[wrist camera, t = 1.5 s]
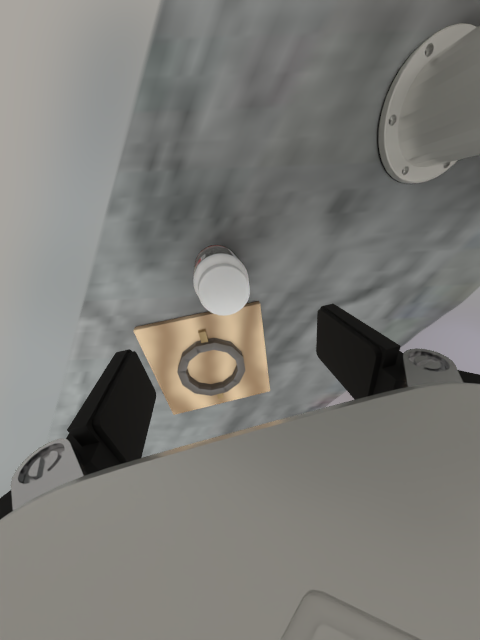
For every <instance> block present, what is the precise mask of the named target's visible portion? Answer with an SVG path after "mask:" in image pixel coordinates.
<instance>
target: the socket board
mask: <svg viewBox="0 0 480 640" xmlns="http://www.w3.org/2000/svg"><path fill="white" fill-rule="evenodd" d="M133 331H134V333H135V335H136V337H137V339H138V341H139V343H140V345H141V348H142V350H143V352H144V354H145V356H146V358H147V360H148V362H149V364H150V366H151V368H152V371H153V373H154V375H155V377H156V379H157V381H158V383H159V385H160V387H161V389H162V391H163V394H164V396H165V398H166V400H167V402H168V404H169V406H170V408H171V410H172V412H173V414H174V415H175V414H179V413H183V412H187V411H191V410H195V409H199V408H203V407H208V406H212V405H216V404H220V403H224V402H228V401H232V400H236V399H240V398H244V397H248V396H252V395H256V394H260V393H264V392H268V391H270V386H269V377H268V368H267V360H266V351H265V342H264V333H263V324H262V316H261V307H260V303H259V301H257V302H252V303H247V304H245V306H244V307H243V308H242V309H241V310H239V311H238V312H236V313H234V314H231V315H225V316H222V315H216V314H214V313H211V312H210V311H209V312H205V313H200V314H195V315H190V316H186V317H181V318H176V319H171V320H166V321H162V322H157V323H152V324H147V325H143V326H138V327H135V329H134V330H133Z"/></svg>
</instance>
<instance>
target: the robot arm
mask: <svg viewBox="0 0 480 640" xmlns="http://www.w3.org/2000/svg"><path fill="white" fill-rule="evenodd" d="M378 143H379V151H380V156H381V159H382V163H383V165H384V167H385V169H386V171H387V172H388V173H389V174H390V175H391V177H392V178H394V179H395V180H397V181H399V182H401V183H406V184H416V183H421V182H426V181H429V180H431V179H434V178H436V177H438V176H439V175H441V174H442V173H444V172H445V171H447V170H448V169H449V168H450V167H451V166H453V165H454V164H455V163H456V162H457V160H460V159H464V158H469V157H473V156H478V155H480V25H479V26H478V27H476V26H474V25H472V24H465V23H458V24H454V25H451V26H447V27H446V28H444V29H442V30H440V31H438V32H437V33H435V34H434V35H433V36H431V37H430V38H429V39H427V40H426V41H425V42H424V43H422V44H421V45H420V46H419V47H418V48H417V49H416V50H415V51H414V52H413V53H412V54H411V55H410V56H409V58H408V59H407V60H406V62H405V63H404V64H403V66H402V67H401V68H400V70H399V72H398V74H397V76H396V77H395V79H394V81H393V83H392V85H391V87H390V90H389V92H388V94H387V97H386V99H385V103H384V106H383V109H382V113H381V118H380V124H379V139H378ZM399 350H400V345H398V344H396V343H395V342H393V341H392V340H390V339H389V338H387V337H385V336H384V335H382V334H381V333H379V332H377V331H376V330H374V329H373V328H371V327H370V326H368V325H366V324H365V323H363V322H362V321H360V320H358V319H357V318H355V317H354V316H352V315H351V314H349V313H347V312H346V311H344V310H343V309H341V308H339V307H338V306H336V305H335V304H330V305H325V306H322V307H321V308H320V310H318V317H317V347H316V352H317V355H318V357H319V359H320V360H321V361H322V362H323V363H324V364H325V366H326V367H327V368H328V369H329V370H330V371H331V372H332V374H333V375H334V376H335V377H336V378H337V379H338V381H339V382H340V383H341V384H342V385H343V386H344V388H345V389H346V390H347V391H348V392H349V393H350V395H351V396H352V397H353V398H354V399H355V400H352V401H349V402H344V403H341V404H337V405H333V406H329V407H326V408H322V409H318V410H314V411H311V412H307V413H303V414H299V415H296V416H292V417H288V418H284V419H281V420H277V421H273V422H270V423H266V424H262V425H259V426H255V427H251V428H248V429H244V430H240V431H237V432H233V433H229V434H226V435H222V436H218V437H215V438H211V439H208V440H204V441H200V442H197V443H193V444H190V445H186V446H182V447H179V448H175V449H172V450H168V451H164V452H161V453H157V454H154V455H150V456H147V457H143V458H141V457H142V452H143V448H144V444H145V440H146V436H147V432H148V428H149V424H150V420H151V416H152V412H153V408H154V404H155V400H156V392H155V389H154V387H153V385H152V383H151V381H150V379H149V377H148V375H147V373H146V371H145V369H144V367H143V365H142V363H141V361H140V359H139V357H138V355H137V353H136V352H132V351H131V350H125V351H120V352H116V353H115V355H114V356H113V358H112V360H111V361H110V363H109V364H108V366H107V367H106V369H105V371H104V372H103V374H102V375H101V377H100V379H99V380H98V382H97V383H96V385H95V387H94V388H93V390H92V391H91V393H90V394H89V396H88V398H87V399H86V401H85V402H84V404H83V406H82V407H81V409H80V410H79V412H78V414H77V415H76V417H75V418H74V420H73V421H72V423H71V425H70V426H69V428H68V429H67V431H68V432H69V435H68V436H67V438H66V439H57V440H54V441H51V442H49V443H47V444H45V445H43V446H42V447H40V448H38V449H37V450H36V451H35V452H33V453H32V454H31V455H30V456H29V457H28V458H26V459H25V461H23V462H22V464H21V465H20V466H19V467H18V469H17V470H16V472H15V473H14V475H13V477H12V481H11V491H9V492H8V493H7V494H5V495H4V496H3V497H1V498H0V640H480V375H478V374H473V373H469V372H464V371H459V370H457V368H456V365H455V364H454V363H453V361H452V360H450V359H449V358H448V357H446V356H444V355H442V354H440V353H437V352H434V351H430V350H426V349H410V350H407V351H406V352H404V353H402V352H400V351H399Z"/></svg>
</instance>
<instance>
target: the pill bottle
mask: <svg viewBox="0 0 480 640" xmlns="http://www.w3.org/2000/svg"><path fill="white" fill-rule="evenodd" d="M193 284H194V289H195V291H196V293H197V295H198V297H199V299H200V301H201V303H202V305H203V306H204V307H205V308H206V309H207V310H208V311H210V312H211V313H214V314H216V315H222V316H225V315H231V314H234V313H236V312H238V311H239V310H241V309H242V308H243V307H244V306H245V304H246V303H247V301H248V299H249V295H250V285H249V277H248V273H247V270H246V268H245V266H244V265H243V263H242V262H241V261H240V260H239V259H238V258H237V257H236V255H235V254H234V253H233V252H232V251H231V250H229V249H228V248H226V247H224V246H220V245H213V246H209V247H207V248H205V249H204V250H202V251H201V252H200V253H199V255H198V256H197V258H196V261H195V267H194V277H193Z"/></svg>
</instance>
